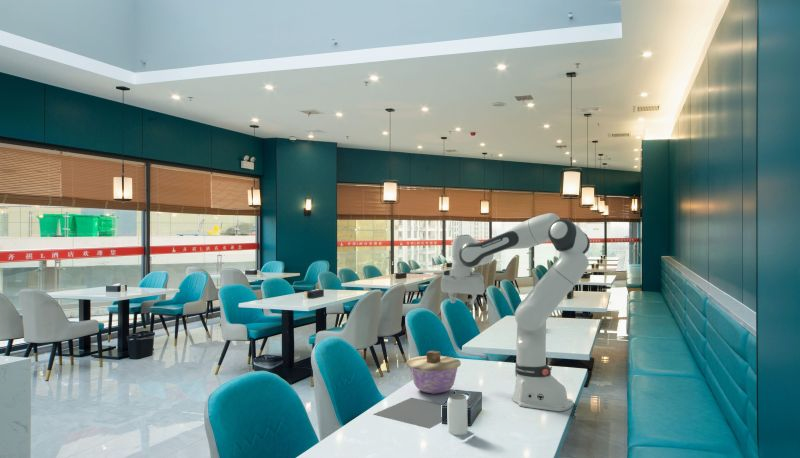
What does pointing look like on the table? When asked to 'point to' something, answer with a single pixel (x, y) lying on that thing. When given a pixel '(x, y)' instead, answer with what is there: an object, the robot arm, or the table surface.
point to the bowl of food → (433, 380)
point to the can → (457, 414)
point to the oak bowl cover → (433, 362)
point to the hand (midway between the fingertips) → (462, 303)
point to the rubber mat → (414, 412)
